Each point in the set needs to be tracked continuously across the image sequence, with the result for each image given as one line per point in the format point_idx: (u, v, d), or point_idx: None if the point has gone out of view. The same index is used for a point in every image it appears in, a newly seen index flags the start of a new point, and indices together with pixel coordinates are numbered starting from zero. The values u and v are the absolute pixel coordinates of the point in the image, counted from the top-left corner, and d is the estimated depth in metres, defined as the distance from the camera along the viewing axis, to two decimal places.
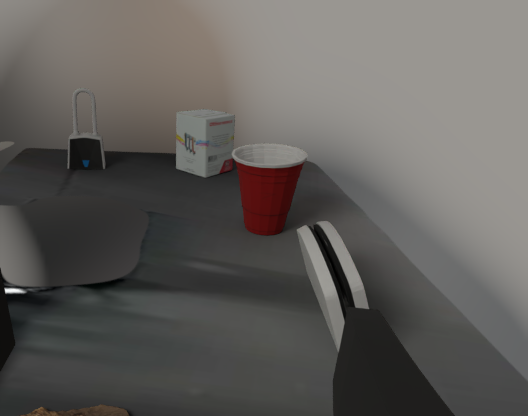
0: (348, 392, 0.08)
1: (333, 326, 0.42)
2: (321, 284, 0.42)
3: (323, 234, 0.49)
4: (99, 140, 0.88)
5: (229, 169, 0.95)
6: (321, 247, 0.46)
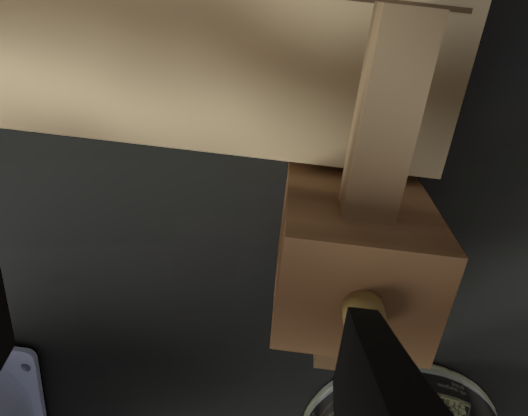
0: (348, 392, 0.08)
1: None
2: None
3: None
4: None
5: None
6: None
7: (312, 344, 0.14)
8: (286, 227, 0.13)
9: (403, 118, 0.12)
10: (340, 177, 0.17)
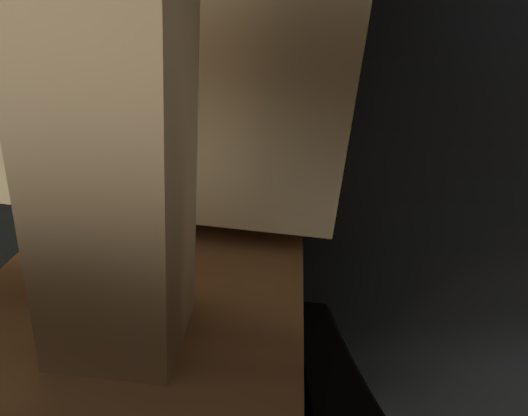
0: None
1: None
2: None
3: None
4: None
5: None
6: None
7: None
8: None
9: (111, 127, 0.04)
10: None
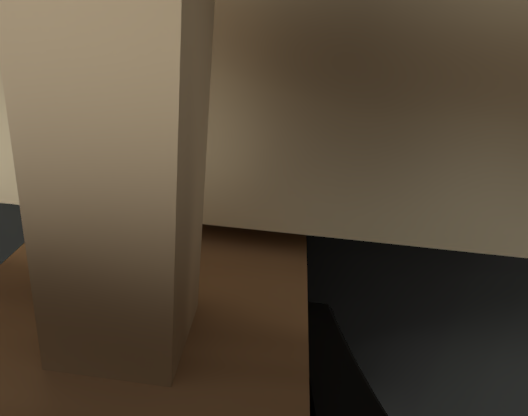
0: None
1: None
2: None
3: None
4: None
5: None
6: None
7: None
8: None
9: (125, 124, 0.04)
10: None
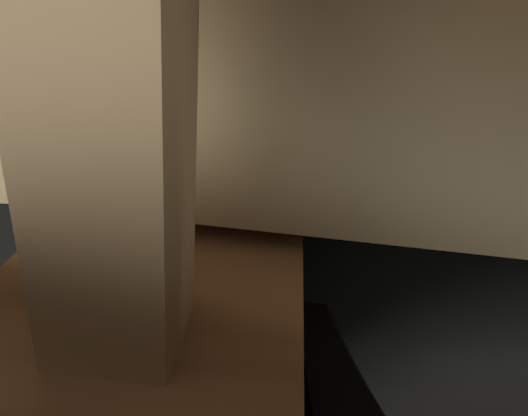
0: None
1: None
2: None
3: None
4: None
5: None
6: None
7: None
8: None
9: (109, 125, 0.04)
10: None
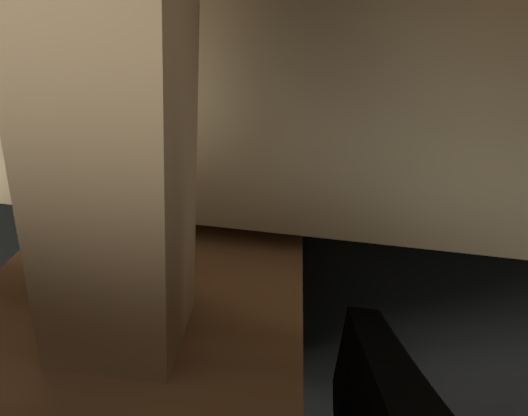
0: (348, 392, 0.08)
1: None
2: None
3: None
4: None
5: None
6: None
7: None
8: None
9: (111, 126, 0.04)
10: None
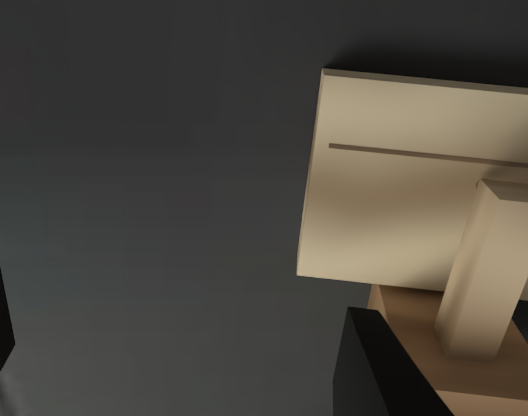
0: (348, 392, 0.08)
1: None
2: None
3: None
4: None
5: None
6: None
7: None
8: None
9: (508, 283, 0.14)
10: (427, 296, 0.19)
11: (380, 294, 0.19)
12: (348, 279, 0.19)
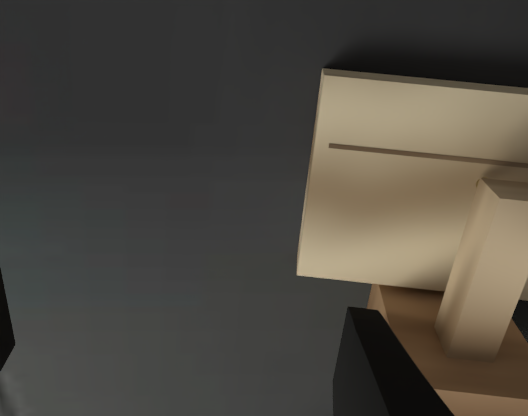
0: (348, 392, 0.08)
1: None
2: None
3: None
4: None
5: None
6: None
7: None
8: None
9: (508, 282, 0.14)
10: (427, 296, 0.19)
11: (380, 294, 0.19)
12: (348, 279, 0.19)
